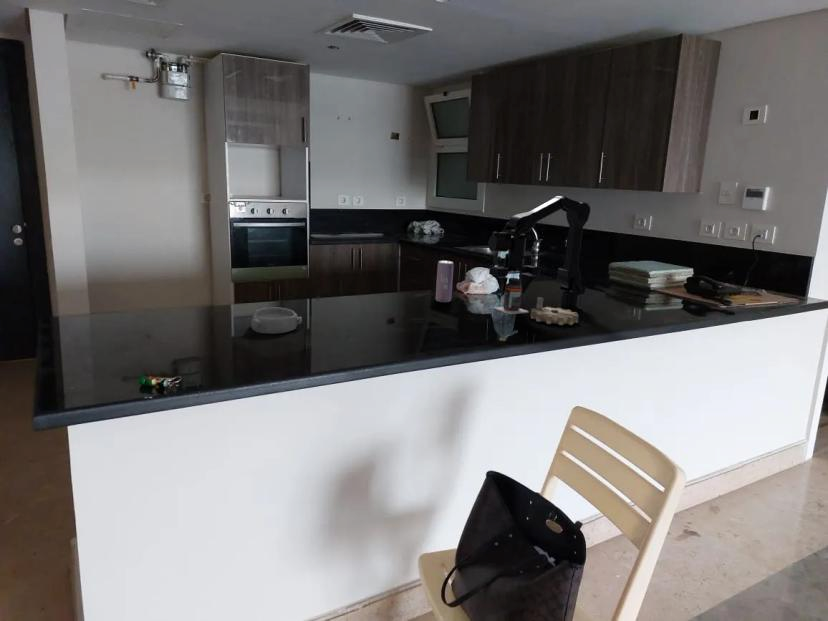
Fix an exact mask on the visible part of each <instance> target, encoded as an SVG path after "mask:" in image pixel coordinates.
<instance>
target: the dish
mask: <svg viewBox="0 0 828 621" xmlns="http://www.w3.org/2000/svg"><path fill="white" fill-rule="evenodd" d="M302 322H303V319H302V316H298V313H296V312H295V311H294V310H292V309H289V308H284V307H276V306H275V307H263V308H259V309H256V310H255V311H254V314H253V316H252V318H251V323H250V324H251V328H252V330H253V331H254V332H256V333H260V334H272V335H273V334H282V333H288V332H291V331H294V330H295V329H297V326H298V325H301V323H302Z"/></svg>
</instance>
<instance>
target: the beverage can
mask: <svg viewBox="0 0 828 621" xmlns="http://www.w3.org/2000/svg"><path fill="white" fill-rule="evenodd" d="M453 278H454V262H453V261H450V260H439V261H438V263H437V270H436V283H435V284H436V286H435V300H436V302H439V303H450V302H451V301H452V295H453V294H452V292H453V280H454V279H453Z"/></svg>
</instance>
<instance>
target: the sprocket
mask: <svg viewBox="0 0 828 621" xmlns="http://www.w3.org/2000/svg"><path fill="white" fill-rule="evenodd" d="M543 305H544V297H541V296H539V297H537V299H536V307H535V308H534V307H532V308H531V309H530V310H531V311H530V318H531V319H533V320H535V322H538V323H539V322H543V323H546V324H547V325H552V324H555V325H559V326H563V325H569V326H573V325H574V323H575V324H577V323H578V321H579V313H577V312H576V311H573V310H568V309H565V308H562V307H556V308H555V307H550V306H545V307H543Z"/></svg>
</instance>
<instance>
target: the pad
mask: <svg viewBox="0 0 828 621" xmlns="http://www.w3.org/2000/svg"><path fill="white" fill-rule="evenodd" d="M493 309H494V310H496V311H499V312H500V313H504V314H506V315H515V314H518V315H520V314H529V310H527V309H523V308H521V307H520V309H519V310H517V311H510V310H506V309H504V308H503V306H494V307H493Z"/></svg>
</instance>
